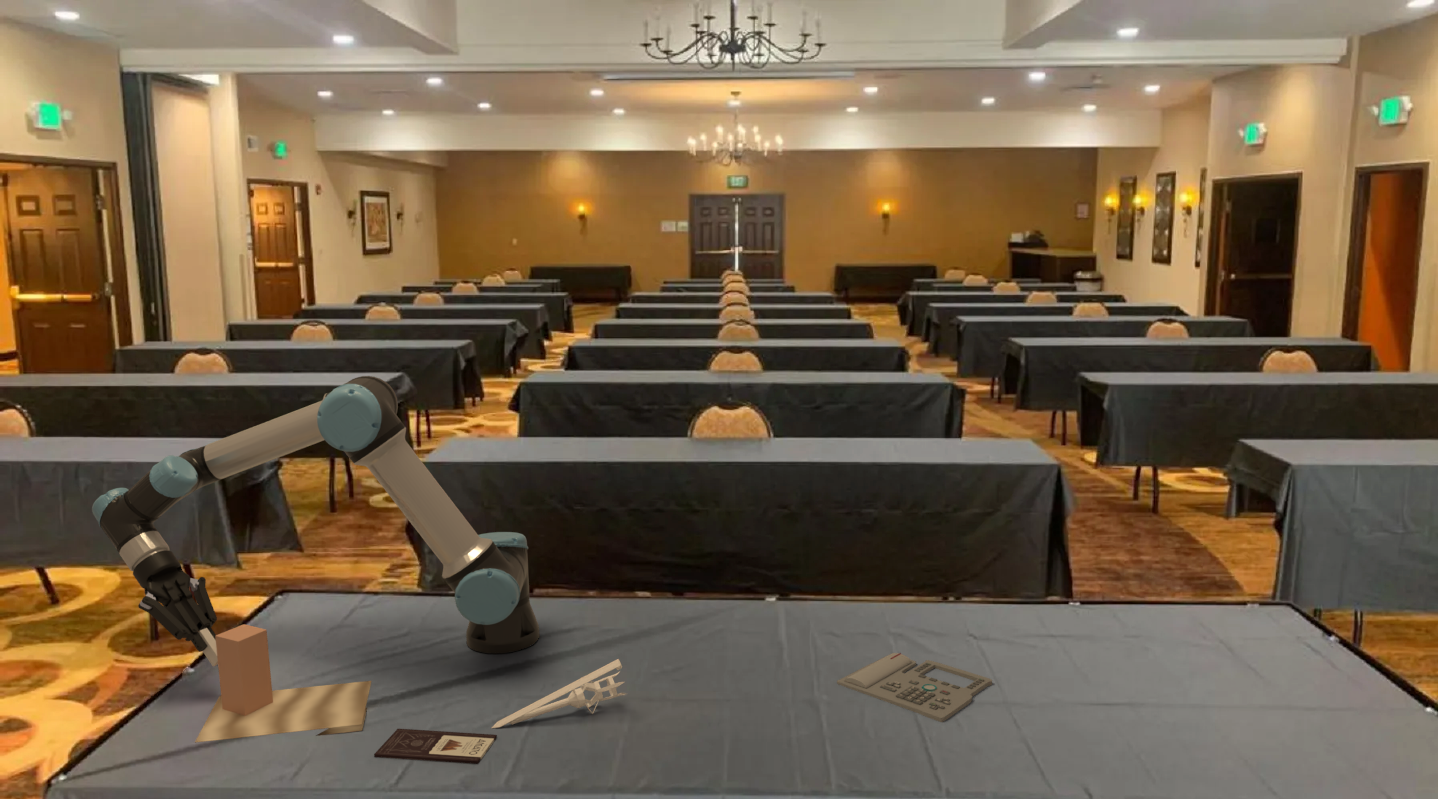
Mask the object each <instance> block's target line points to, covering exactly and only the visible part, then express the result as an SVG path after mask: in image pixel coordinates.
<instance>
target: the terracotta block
mask: <svg viewBox="0 0 1438 799" xmlns="http://www.w3.org/2000/svg"><path fill="white" fill-rule="evenodd" d="M267 632H268V631H267V629H265V628H261V627H257V626H252V625H248V624H245V623H244V624H240V625H237V627H234V628H231V629H229V630H226V631H223V632H221V633H219V634H216V636H215V638H216V648H217V658H218V666H217V667H218V675H219V676H218V679H219V688H220V696H221V699H222V709H224V710H227V711H231V712H234V713H237V714H241V715H244V716H246V715H248V714H250V713H252V712H254V711H256V710H258V709H260V708H262V707H264V706H266V705H268V704H270V703H272V702H273V695H272V691H273V687H272V686H273V685H272V674H271V665H270V653H269V643H268V633H267Z"/></svg>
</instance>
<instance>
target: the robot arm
mask: <svg viewBox="0 0 1438 799" xmlns="http://www.w3.org/2000/svg"><path fill="white" fill-rule="evenodd" d="M398 405H399V404H398V398H397V394H396V393H395V391H394V389H393V388H392V386H391V385H390V384H389V383H388V382H386V380H383V379H381V378H380V377H377V376H373V375H362V376H358V377H354V378H352V379H350V380H349V381H347V382H345V383H343V384H341V385H339V386H337V387H336V388H333V389H332V391H330V392H329V391H328V392H327V393H324V395H323V397H322V400H320V401H317V402H315V403H312V404H310V405H307V406H305V407H302V408H299V409H297V410H294V411H291V412H289V413H286V414H283V415H281V416H278V417H275V418H273V419H270V420H268V421H265V422H262V423H260V424H257V425H255V426H252V427H249V428H247V429H244V430H241V431H239V432H236V433H234V434H231V435H228V436H226V437H223V438H221V439H218V440H216V441H213V442H210V443H207V444H206V445H203V446H199V447H198V448H191V449H189V450H186V451H184V452H182V453H180V455H178V456H175V455H173V454H172V455H167V456H165V457H164V458H162V460H160V461H159V462H158V463H156V464H154V465H153V466H152V467H151V469H150V470H149V471H148V472H147V473H146V474H145V475H143V476H142V477H141V478H140V479H139V480H138V481H137V482H136V483H135V484H134V485H132V486H131V487H130V488H129V489H128V488H126V487H117V488H112V489H110V490H108V491H107V492H105V494H101V495H100V496H99V497H97V498H96V500H95V501H94V502H93V504H92V507H91V512H92V515H93V516H94V518H95V519H96V521H97V523H98V526H99V528H100V530H102V531H103V532H104V534H105V535H106V536H107V538H108V540H110V542H111V543H112V545H113V547H114V548H115V549H116V551H117V553H118V554H119V556H120V557H121V559H122V560H123V561H124V564H126V566H127V568H128V569H129V570H130V571H131V572H132V575H133V578H135V580H136V582H138V585H139V586H140V587H141V588H142V589H144V595H145V596H143V598H141V600H140V602H139V604H138V606H137V607H138V609H140V610H142V611H144V612H146V613H148V614H149V615H151V616H152V617H153V618H154V619H155V620H156V621H157V622H158V623H159V624H160V625H161V626H162V627H163V628H164V629H166V630H167V631H168V632H169V633H170V635H172V636H173V637H174V638H175V639H176V640H177V641H178V640H183V639H185V641H186V642H191V643H192V645H194V647H195V649H196V650H197V651H198V652H202V653H203V654H204V655H205V657H206V659H207V661H208V662H209V663H210V664H211V666H212V667H215V666H217V665H218V658H217V648H216V638H215V636H216V635H217V634H216V633H215V631H214V630H213V628H212V627H213V626H214V624H215V623H216V621H217V620H218V617H217V615H216V612H215V610H214V606H213V604H212V601H211V599H210V596H209V594H208V590H207V588H206V584H207V582H206V578H205V577H204V576H200V577H199V578H197V579H196V578H192V577H190V575H189V574H188V573H186V572H185V571H183V569H182V568H183V567H182V564H181V563H180V561H179V560H178V558H177V557H176V555H175V554H174V552H173V551H171V550H170V546H169V545H168V543H167V542H166V541H165V539H164V538H163V537H162V535H161V533H160V532H159V531H158V529H157V528H156V526H155V524H154V523H155V522H156V521H157V520H159V519H160V518H161V517H162V515H164V514H165V513H166V512H167V511H169V509H170V508H172V507H173V506H174V505H175V504H176V503H178V502H180V501H181V500H182V499H184V498H186V497H187V496H189V495H190V494H192V493H194V492H195V491H197V490H199V489H201V488H203V487H205V486H209V485H211V484H214V483H216V482H219V481H221V480H223V479H225V478H228V477H230V476H234V475H236V474H239V473H241V472H243V471H247V470H249V469H252V468H254V467H257V466H260V465H263V464H265V463H268V462H269V461H270V462H271V461H273V460H276V459H279V458H280V457H281V458H282V457H284V456H286V455H289V454H292V453H294V452H296V451H299V450H302V449H305V448H307V447H309V446H310V447H311V446H312V445H315V444H318V443H320V442H323V441H325V442H326V443H327V444H328V445H329V446H330V447H332V448H334V449H337V450H338V451H343V452H344V453H345V454H346V456H348V458H349V459H350V461H351V462H352V463H353V464H354V465H355V466H361V467H366V468H367V469H368V470H369V472H370V473H371V474H372V476H374V478H375V479H376V480H377V481H378V483H379V484H380V486H381V487H382V488H383V489H384V490H385V492H386V493H387V495H388V496H389V497H390V498H391V499H392V501H393V502H394V504H395V505H396V506H397V507H398V509H399V510H400V511H401V513H402V514H403V515H404V517H405V518H406V519H407V520H408V522H409V523H410V524H411V525H412V527H413V528H414V529H415V530H416V531H417V533H418V534H419V535H420V537H421V539H423V541H424V542H425V543H426V545H427V546H428V547H429V549H430V550H431V551H432V552H433V553H434V555H435V556H436V557H437V559H438V560H439V562H441V563H442V566H443V569H442V573H441V574H442V575H441V577H442V579H443V580H444V581H445V582H446V584H447V585H448V586H449V588H450V589H451V590H452V592H453V593H454V602H455V606H456V608H457V610H458V612H459V613H460V615H462V617H463V618H465V619H466V620H467V621H469V622H468V625H467V627H466V633H465V635H466V636H465V637H466V644H467V647H468V648H469V649H471V650H473V651H475V652H479V653H483V654H484V653H485V654H507V653H512V652H514V653H515V652H517V651H521V649H522V650H525V649H527V648H529V647H531V646H533V645H534V644H536V643H537V642H538V641H537V640H539V639H540V626H539V623H538V620H537V617H536V615H535V612H534V610H533V608H532V605H531V603H530V602H531V601H530V600H531V599H530V585H529V584H530V583H529V582H530V581H529V560H528V559H529V558H528V550H529V546H528V541H527V538H526V536H525V535H524V534H523V533H519V532H514V531H513V532H512V531H496V532H495V531H494V532H487V533H481V534H478V532H476V530H475V529H474V528H473V526H472V525H471V524H470V523H469V521H468V520H467V519H466V517H465V516H464V515H463V513H462V512H461V511H460V509H459V508H458V507H457V506H456V504H455V503H454V502H453V501H452V499H451V497H450V496H449V495H448V494H447V493H446V491H445V490H444V489H443V487H442V486H441V485H440V484H439V482H438V481H437V480H436V478H435V477H434V476H433V474H432V473H431V472H430V470H429V468H428V467H426V465H425V464H424V463H423V461H422V460H421V458H420V457H419V456H418V455H417V454H416V452H415V451H414V449H413V448H412V447H411V445H410V444H409V443H408V441H407V440H406V433H407V427H406V426H405V425H404V423H403V422H402V421H401V418H399V417H398V415H397V414H398V408H399V406H398ZM190 589H191V590H190ZM192 592H193V593H192ZM193 596H194V598H195V599H194V598H193ZM538 638H539V639H538ZM536 641H537V642H536ZM535 642H536V643H535ZM532 644H533V645H532ZM530 645H531V646H530ZM524 648H525V649H524Z"/></svg>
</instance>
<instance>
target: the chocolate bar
mask: <svg viewBox="0 0 1438 799" xmlns="http://www.w3.org/2000/svg"><path fill="white" fill-rule="evenodd" d="M497 736H498V735H497V734H491V733H490V734H488V733H475V732H460V731H459V732H458V731H444V730H443V731H441V730H425V729H424V730H423V729H413V728H411V729H409V728H397V729H396V730H394V732H393V733H392V735H390V736H389V738H388V739H387V740H386V741H385V742H384V743H383V744H382V745H381V746H380V747H379V748H378V749H377V750H376V752H375V753H374V754H373V757H374V758H381V759H382V758H383V759H394V760H395V759H398V760H412V761H425V762H426V761H427V762H428V761H429V762H442V763H453V764H454V763H457V764H469V765H470V764H471V765H479V764H480V762H481V760H483V757H484V756H485V755H486V753H487V752H488V751H489V749H490V748H491V746H492V745H493V744H494V742H495V741H496V740H497V738H498V737H497Z"/></svg>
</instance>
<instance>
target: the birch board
mask: <svg viewBox="0 0 1438 799" xmlns="http://www.w3.org/2000/svg"><path fill="white" fill-rule="evenodd" d="M372 682H373V681H372V680H367V681H366V680H365V681H355V682H347V683H345V682H344V683H337V684H334V683H333V684H326V685H315V686H306V687H305V686H304V687H296V688H295V687H294V688H286V689H275V690H272V695H273V702H272V703H270V704H268V705H266V706H264V707H262V708H260V709H258V710H256V711H254V712H252V713H250V714H248V715H246V716H244V715H241V714H237V713H234V712H231V711H227V710H224V709H222V699H221V695H219V696H218V698H217V700H216V702H215V703H214V706H213V707H212V709H211V711H210V713H209V715H208V717H207V718H206V720H205V723H204V724H203V727H202V728H201V729H200V731H199V733H198V735H197V736H196V738H195V740H194V743H196V744H197V743H203V742H213V741H221V740H232V739H233V740H234V739H242V738H249V737H258V736H260V737H261V736H268V735H277V734H279V735H280V734H285V733H296V732H306V731H313V730H314V731H315V730H323V731H321V732H320V733H318V734H316V735H315V736H327V735H334V734H343V733H344V734H346V733H353V732H362V731H363V729H364V723H365V720H366V716H367V711H368V707H367V703H368V699H369V695H370V690H371V686H372ZM324 729H325V730H324Z"/></svg>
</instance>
